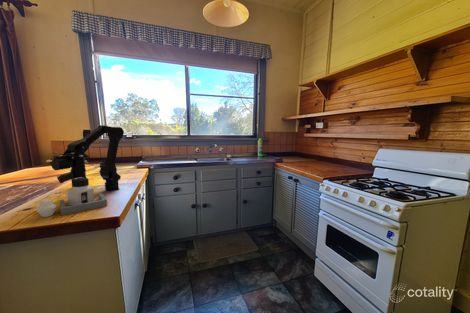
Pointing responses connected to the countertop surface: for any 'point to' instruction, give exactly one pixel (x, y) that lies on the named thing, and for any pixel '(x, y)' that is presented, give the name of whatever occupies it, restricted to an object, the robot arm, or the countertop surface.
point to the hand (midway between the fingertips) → (80, 195)
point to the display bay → (83, 205)
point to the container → (80, 192)
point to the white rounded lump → (46, 208)
